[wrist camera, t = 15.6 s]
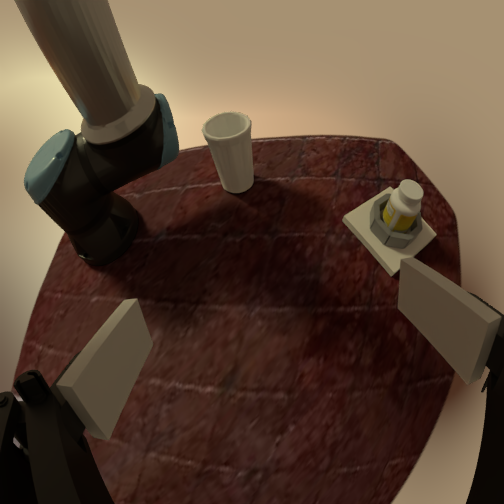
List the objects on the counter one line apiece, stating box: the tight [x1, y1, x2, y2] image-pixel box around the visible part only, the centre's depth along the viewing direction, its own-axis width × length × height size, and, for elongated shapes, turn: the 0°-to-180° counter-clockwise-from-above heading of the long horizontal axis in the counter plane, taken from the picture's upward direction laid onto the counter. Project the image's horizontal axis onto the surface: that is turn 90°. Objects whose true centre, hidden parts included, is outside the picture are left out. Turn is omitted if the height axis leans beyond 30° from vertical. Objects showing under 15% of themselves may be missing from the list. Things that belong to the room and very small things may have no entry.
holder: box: [343, 187, 437, 276], centre depth 43 cm, size 13×13×4 cm
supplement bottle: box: [381, 180, 423, 234], centre depth 39 cm, size 5×5×10 cm
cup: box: [202, 112, 254, 193], centre depth 47 cm, size 8×8×14 cm
